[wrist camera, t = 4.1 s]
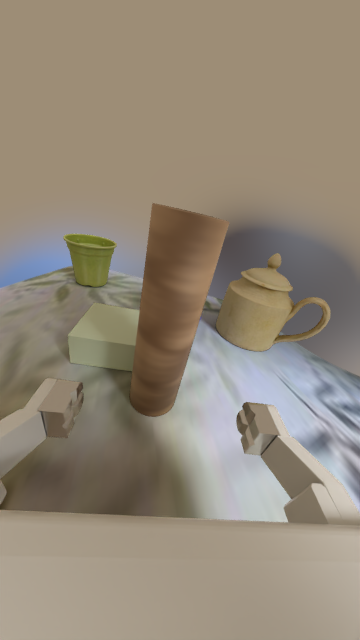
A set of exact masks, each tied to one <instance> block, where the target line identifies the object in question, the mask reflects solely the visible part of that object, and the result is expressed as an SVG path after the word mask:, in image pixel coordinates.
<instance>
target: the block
mask: <svg viewBox="0 0 360 640" xmlns="http://www.w3.org/2000/svg"><path fill="white" fill-rule="evenodd" d="M139 311H140V310H135V309H129V308H123V307H117V306H112V305H106V304H100V303H93V305H92V306H91V307H90V308H89V309H88V311H87V312H86V313H85V314H84V316H83V317H82V318H81V319H80V321H79V322H78V323H77V324H76V326H75V327H74V328H73V329H72V330H71V332H70V333H69V334H68V346H69V356H70V363H74V364H82V365H89V366H96V367H104V368H111V369H118V370H126V371H132V370H133V361H134V353H135V345H136V336H137V328H138V320H139Z"/></svg>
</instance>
